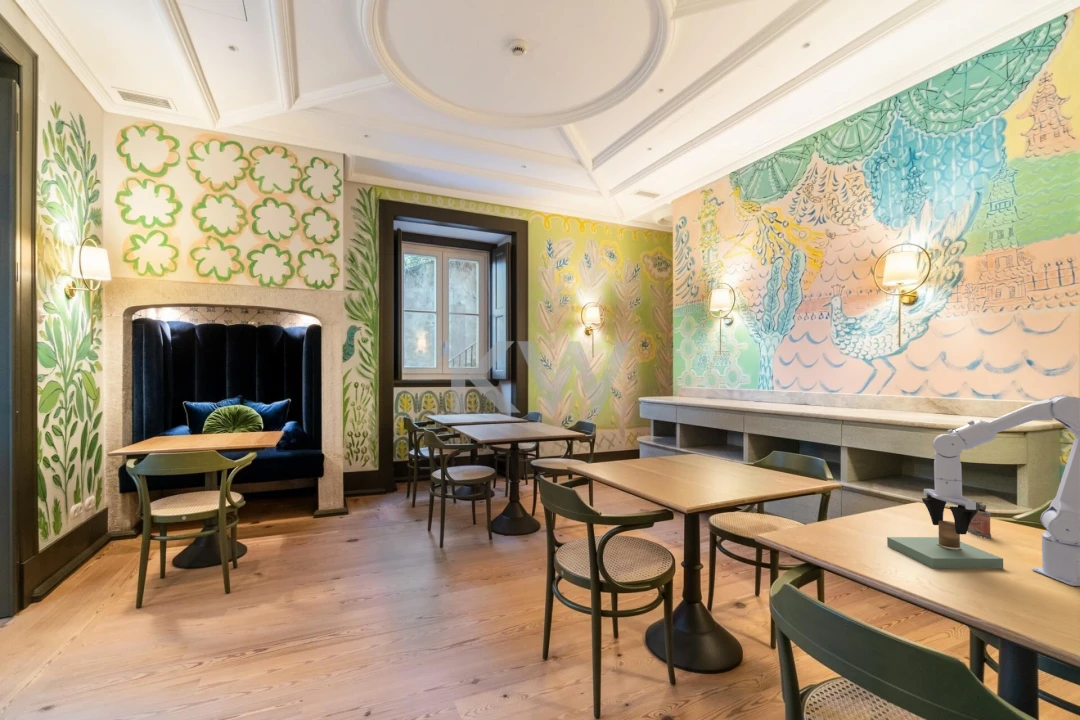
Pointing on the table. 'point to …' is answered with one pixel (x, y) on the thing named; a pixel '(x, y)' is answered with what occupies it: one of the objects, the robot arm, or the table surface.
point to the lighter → (980, 521)
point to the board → (944, 553)
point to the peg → (948, 536)
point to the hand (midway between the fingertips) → (949, 529)
